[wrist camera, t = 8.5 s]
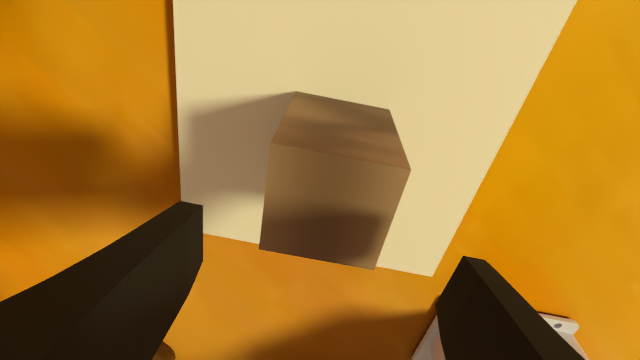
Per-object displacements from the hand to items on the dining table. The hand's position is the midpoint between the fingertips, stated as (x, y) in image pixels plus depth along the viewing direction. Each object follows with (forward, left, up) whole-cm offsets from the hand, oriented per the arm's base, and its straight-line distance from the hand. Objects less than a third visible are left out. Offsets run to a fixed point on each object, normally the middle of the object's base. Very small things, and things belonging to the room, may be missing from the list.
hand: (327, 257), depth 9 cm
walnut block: (0, 0, -8) cm, 8 cm away
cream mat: (0, 0, -9) cm, 9 cm away
